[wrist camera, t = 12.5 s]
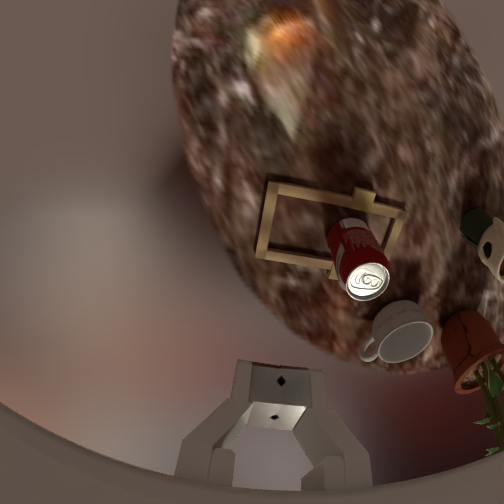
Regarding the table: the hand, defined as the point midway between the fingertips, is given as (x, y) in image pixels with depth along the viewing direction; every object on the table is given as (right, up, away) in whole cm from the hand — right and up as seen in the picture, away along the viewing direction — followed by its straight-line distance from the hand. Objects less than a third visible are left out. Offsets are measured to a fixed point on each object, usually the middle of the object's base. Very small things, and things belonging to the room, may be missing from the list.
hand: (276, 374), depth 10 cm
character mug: (+37, +9, +30) cm, 48 cm away
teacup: (+25, -8, +41) cm, 49 cm away
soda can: (+14, +7, +34) cm, 37 cm away
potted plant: (+44, -8, +40) cm, 60 cm away
